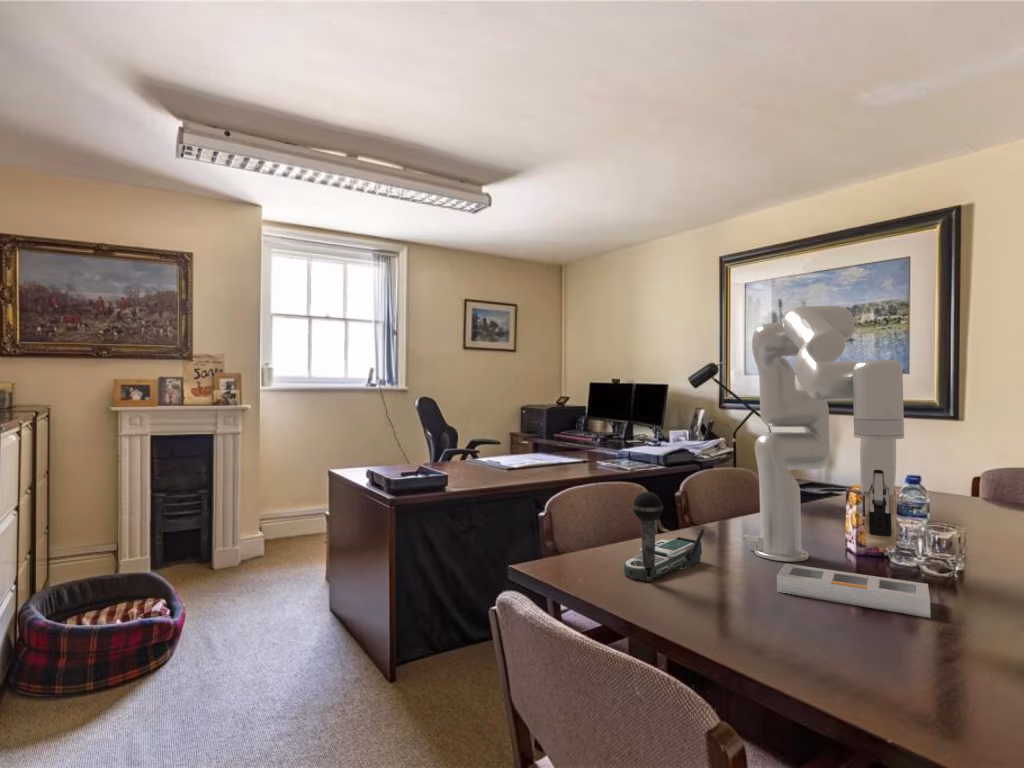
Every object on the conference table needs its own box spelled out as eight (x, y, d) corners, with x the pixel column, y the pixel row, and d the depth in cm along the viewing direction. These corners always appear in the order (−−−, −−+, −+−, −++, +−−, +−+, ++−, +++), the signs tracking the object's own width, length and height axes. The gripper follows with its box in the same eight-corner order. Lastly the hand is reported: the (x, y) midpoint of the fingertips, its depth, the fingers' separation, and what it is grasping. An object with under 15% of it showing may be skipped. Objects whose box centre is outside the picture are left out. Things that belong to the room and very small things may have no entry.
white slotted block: (777, 592, 119) (776, 574, 119) (785, 579, 128) (784, 562, 128) (930, 618, 105) (929, 597, 105) (928, 601, 113) (927, 582, 113)
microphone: (667, 579, 128) (665, 490, 129) (661, 588, 122) (660, 495, 123) (637, 575, 131) (635, 488, 132) (630, 584, 125) (628, 493, 126)
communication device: (608, 574, 134) (607, 537, 134) (666, 554, 150) (665, 520, 150) (650, 587, 125) (649, 546, 125) (708, 564, 141) (707, 528, 141)
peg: (865, 545, 100) (864, 483, 100) (867, 540, 104) (865, 480, 104) (896, 549, 98) (894, 485, 98) (896, 543, 101) (894, 481, 102)
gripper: (856, 426, 110) (859, 520, 110) (850, 432, 96) (852, 540, 96) (903, 427, 106) (906, 525, 106) (904, 433, 92) (906, 546, 92)
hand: (880, 531), depth 101 cm, fingers closed on peg, 4 cm apart
